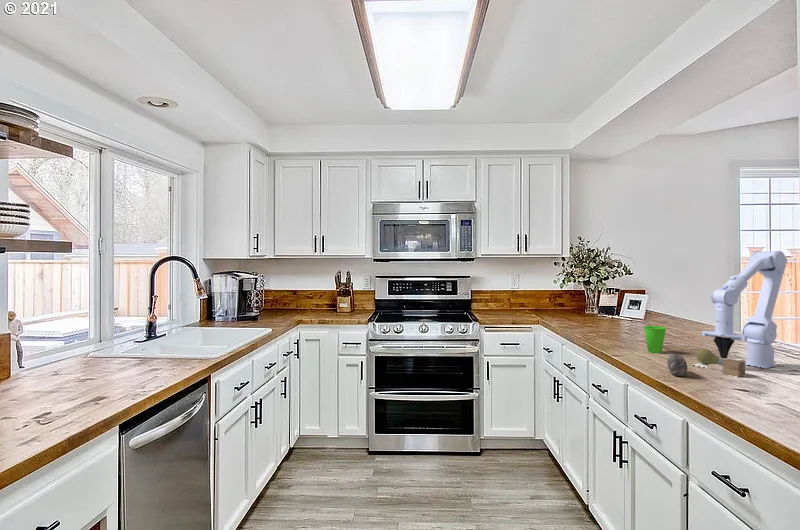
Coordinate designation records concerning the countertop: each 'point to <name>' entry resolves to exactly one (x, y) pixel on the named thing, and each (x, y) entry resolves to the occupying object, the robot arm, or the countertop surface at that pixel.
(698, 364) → the letter
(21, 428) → the countertop surface
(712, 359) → the light bulb
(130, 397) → the countertop surface
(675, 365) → the perforated stone tool
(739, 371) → the walnut block
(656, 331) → the cup
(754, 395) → the countertop surface
